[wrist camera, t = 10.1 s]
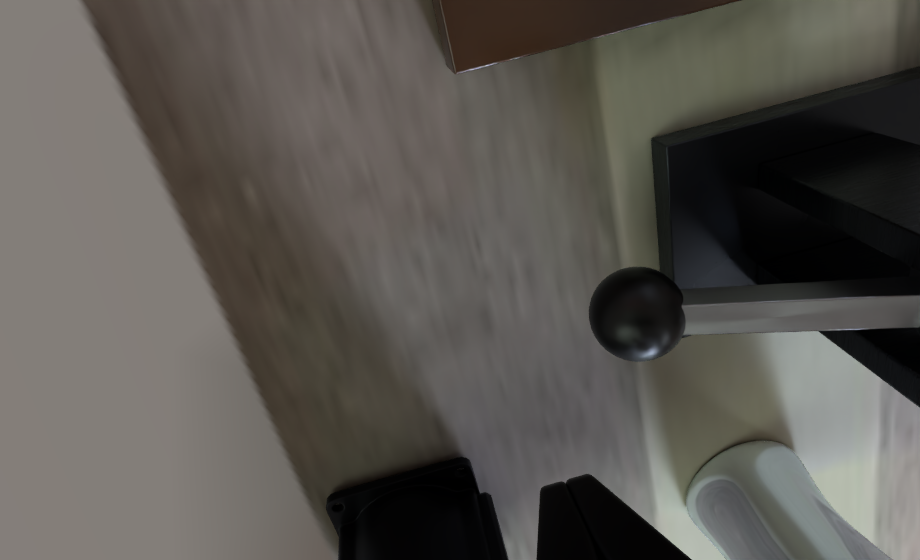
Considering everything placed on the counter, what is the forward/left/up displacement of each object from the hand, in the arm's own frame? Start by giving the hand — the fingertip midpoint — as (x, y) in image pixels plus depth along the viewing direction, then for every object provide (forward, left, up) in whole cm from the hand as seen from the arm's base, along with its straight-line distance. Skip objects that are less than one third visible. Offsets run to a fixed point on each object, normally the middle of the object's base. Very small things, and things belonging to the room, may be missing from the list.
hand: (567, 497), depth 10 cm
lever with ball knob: (+9, -3, -8) cm, 13 cm away
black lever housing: (+13, -3, -13) cm, 19 cm away
